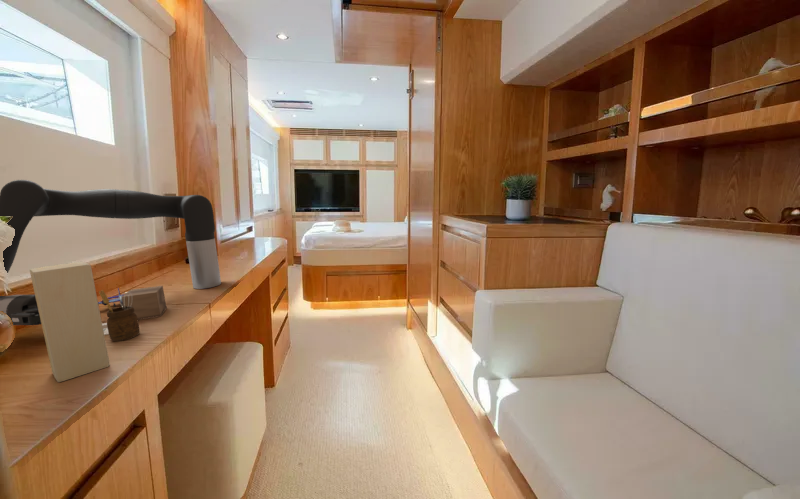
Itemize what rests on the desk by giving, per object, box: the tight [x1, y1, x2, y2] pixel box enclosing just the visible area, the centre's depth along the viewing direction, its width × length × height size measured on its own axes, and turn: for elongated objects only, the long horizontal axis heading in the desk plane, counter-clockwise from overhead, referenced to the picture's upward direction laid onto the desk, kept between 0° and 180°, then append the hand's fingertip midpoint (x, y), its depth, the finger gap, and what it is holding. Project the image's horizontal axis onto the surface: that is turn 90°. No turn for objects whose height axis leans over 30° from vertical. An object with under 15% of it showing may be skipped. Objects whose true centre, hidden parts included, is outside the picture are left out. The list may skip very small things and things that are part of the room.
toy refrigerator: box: [29, 261, 111, 383], centre depth 69 cm, size 8×7×21 cm
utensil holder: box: [98, 289, 141, 342], centre depth 86 cm, size 6×6×12 cm
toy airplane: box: [98, 287, 125, 308], centre depth 111 cm, size 13×14×4 cm
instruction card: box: [102, 322, 109, 336], centre depth 92 cm, size 10×7×1 cm
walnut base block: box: [122, 285, 168, 321], centre depth 102 cm, size 8×8×7 cm
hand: (80, 309), depth 87 cm, fingers open, 8 cm apart
